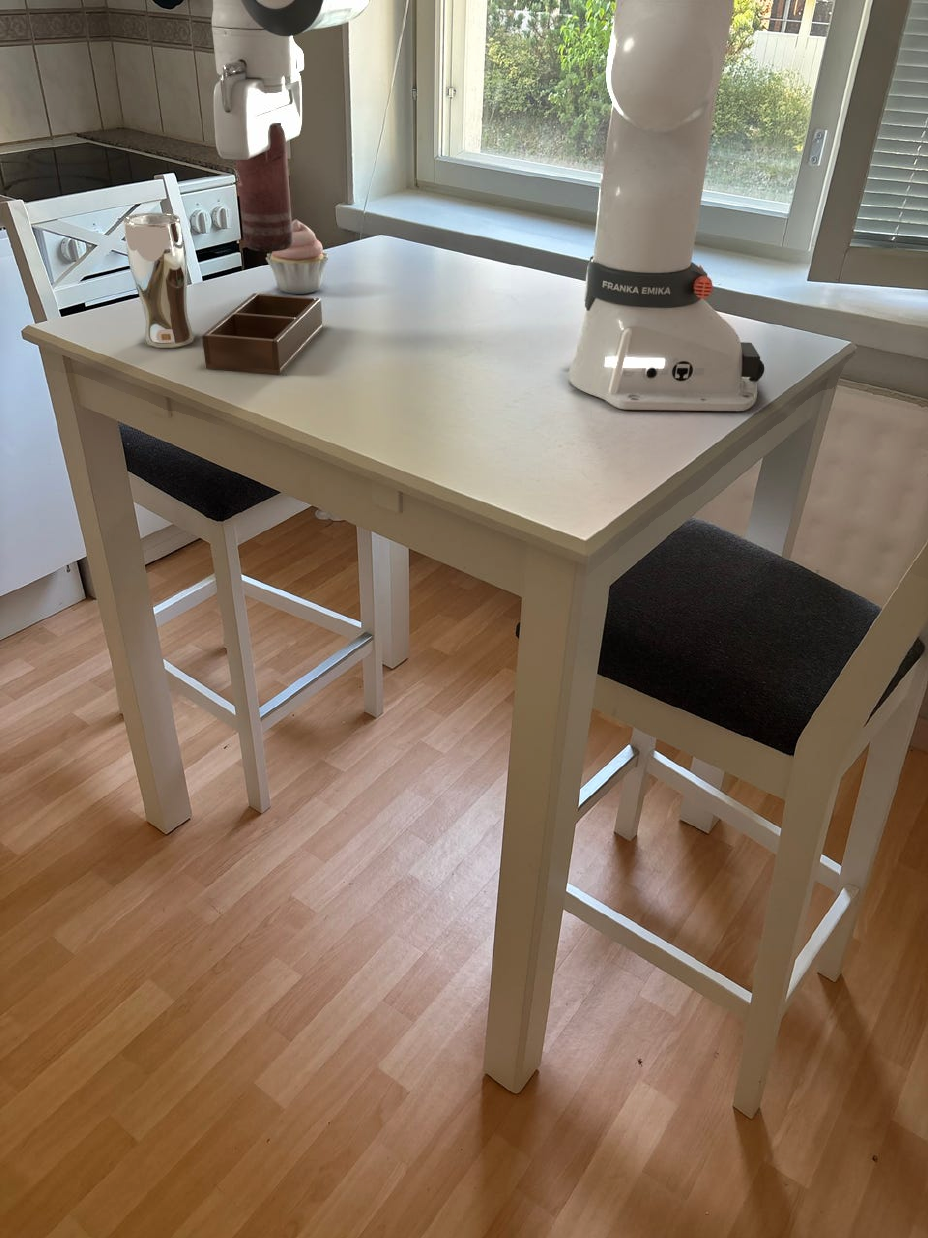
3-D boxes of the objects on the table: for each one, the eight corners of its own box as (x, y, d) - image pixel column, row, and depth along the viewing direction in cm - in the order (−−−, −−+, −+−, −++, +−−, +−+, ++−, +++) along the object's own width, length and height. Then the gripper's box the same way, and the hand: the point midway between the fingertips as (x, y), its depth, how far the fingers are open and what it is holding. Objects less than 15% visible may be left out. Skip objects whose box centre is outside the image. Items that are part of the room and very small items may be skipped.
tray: (322, 328, 129) (320, 298, 127) (280, 374, 115) (277, 341, 112) (256, 323, 130) (253, 292, 128) (205, 368, 116) (201, 335, 113)
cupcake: (298, 301, 139) (293, 229, 133) (255, 288, 144) (249, 218, 138) (343, 288, 145) (340, 219, 140) (301, 276, 150) (296, 209, 144)
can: (255, 254, 116) (243, 126, 108) (237, 242, 120) (224, 118, 112) (301, 249, 119) (293, 123, 111) (282, 238, 123) (273, 116, 115)
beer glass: (183, 351, 120) (165, 226, 112) (132, 346, 121) (110, 222, 113) (206, 334, 126) (190, 214, 117) (157, 330, 127) (138, 210, 118)
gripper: (249, 65, 99) (262, 207, 107) (307, 51, 116) (314, 175, 124) (192, 63, 100) (208, 204, 108) (258, 49, 116) (268, 172, 124)
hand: (265, 188), depth 116 cm, fingers closed, pressing on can
